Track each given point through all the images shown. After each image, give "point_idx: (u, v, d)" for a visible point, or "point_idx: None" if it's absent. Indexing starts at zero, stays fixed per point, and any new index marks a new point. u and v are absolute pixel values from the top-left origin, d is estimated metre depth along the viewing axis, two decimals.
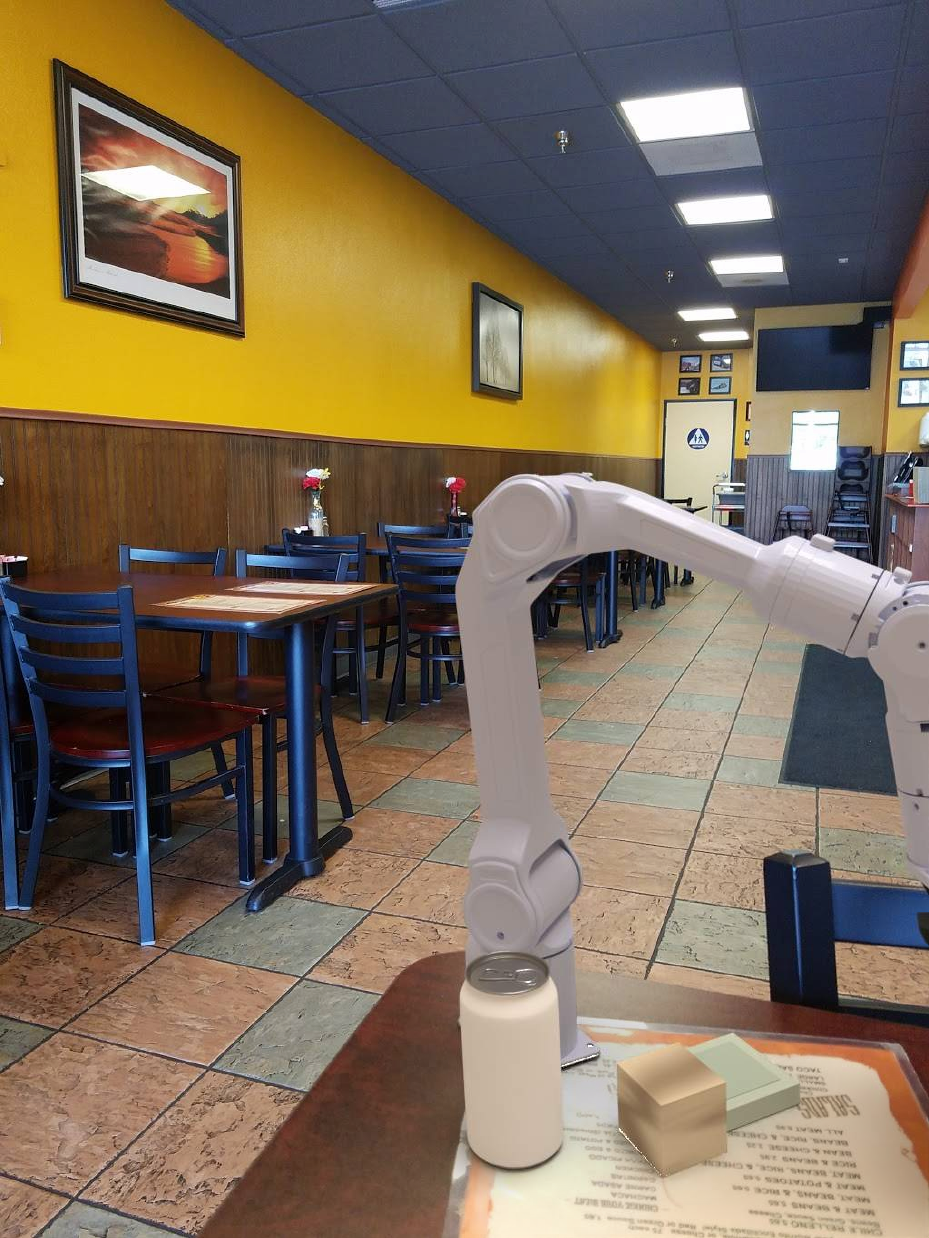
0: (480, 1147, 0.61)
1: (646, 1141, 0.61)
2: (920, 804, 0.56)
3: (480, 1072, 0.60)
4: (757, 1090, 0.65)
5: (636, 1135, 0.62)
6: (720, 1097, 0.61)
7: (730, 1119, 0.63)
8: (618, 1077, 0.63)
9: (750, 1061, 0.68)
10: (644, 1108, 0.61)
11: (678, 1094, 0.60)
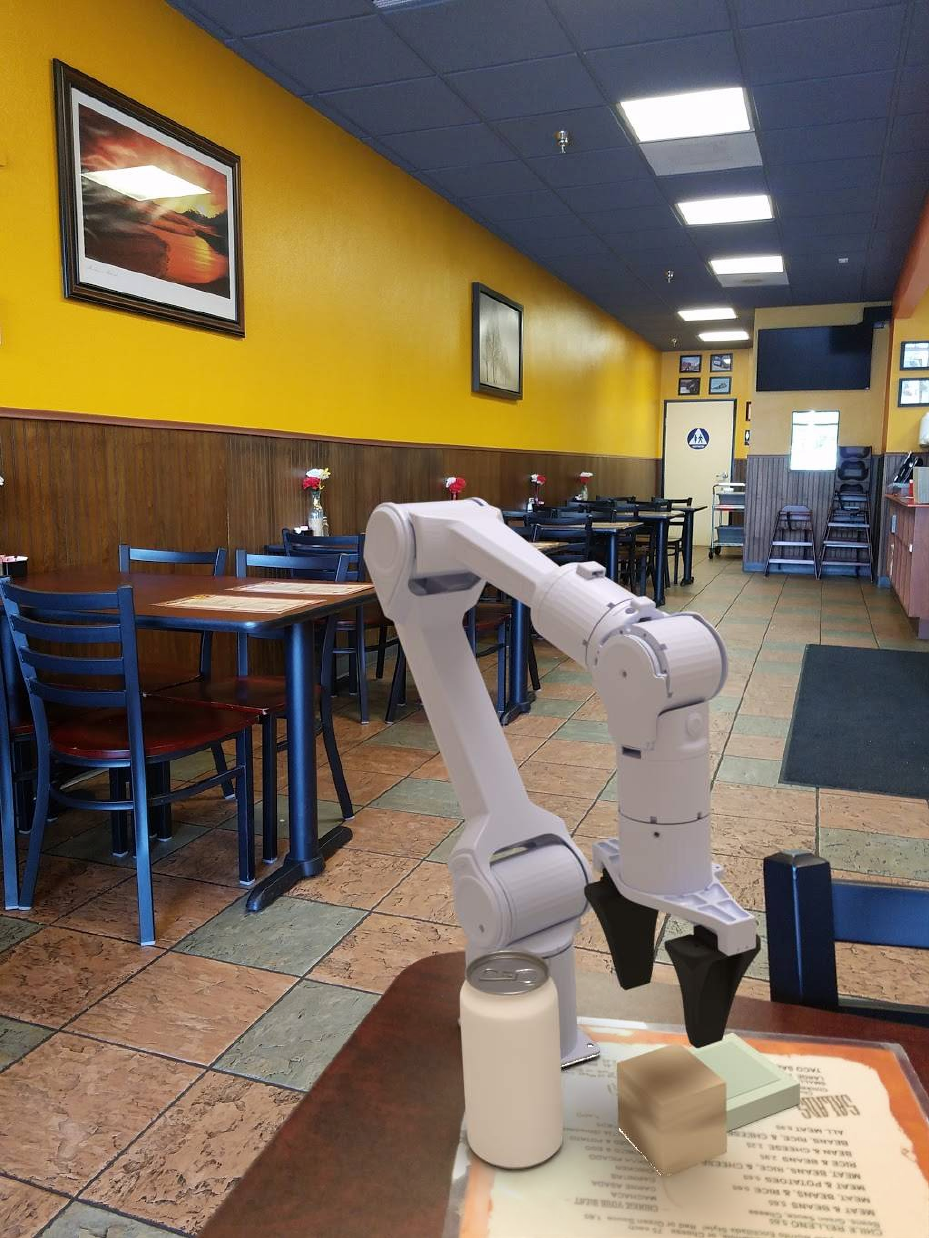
0: (480, 1147, 0.61)
1: (646, 1141, 0.61)
2: (663, 832, 0.57)
3: (480, 1072, 0.60)
4: (757, 1090, 0.65)
5: (636, 1135, 0.62)
6: (720, 1097, 0.61)
7: (730, 1119, 0.63)
8: (618, 1077, 0.63)
9: (750, 1061, 0.68)
10: (644, 1108, 0.61)
11: (678, 1094, 0.60)
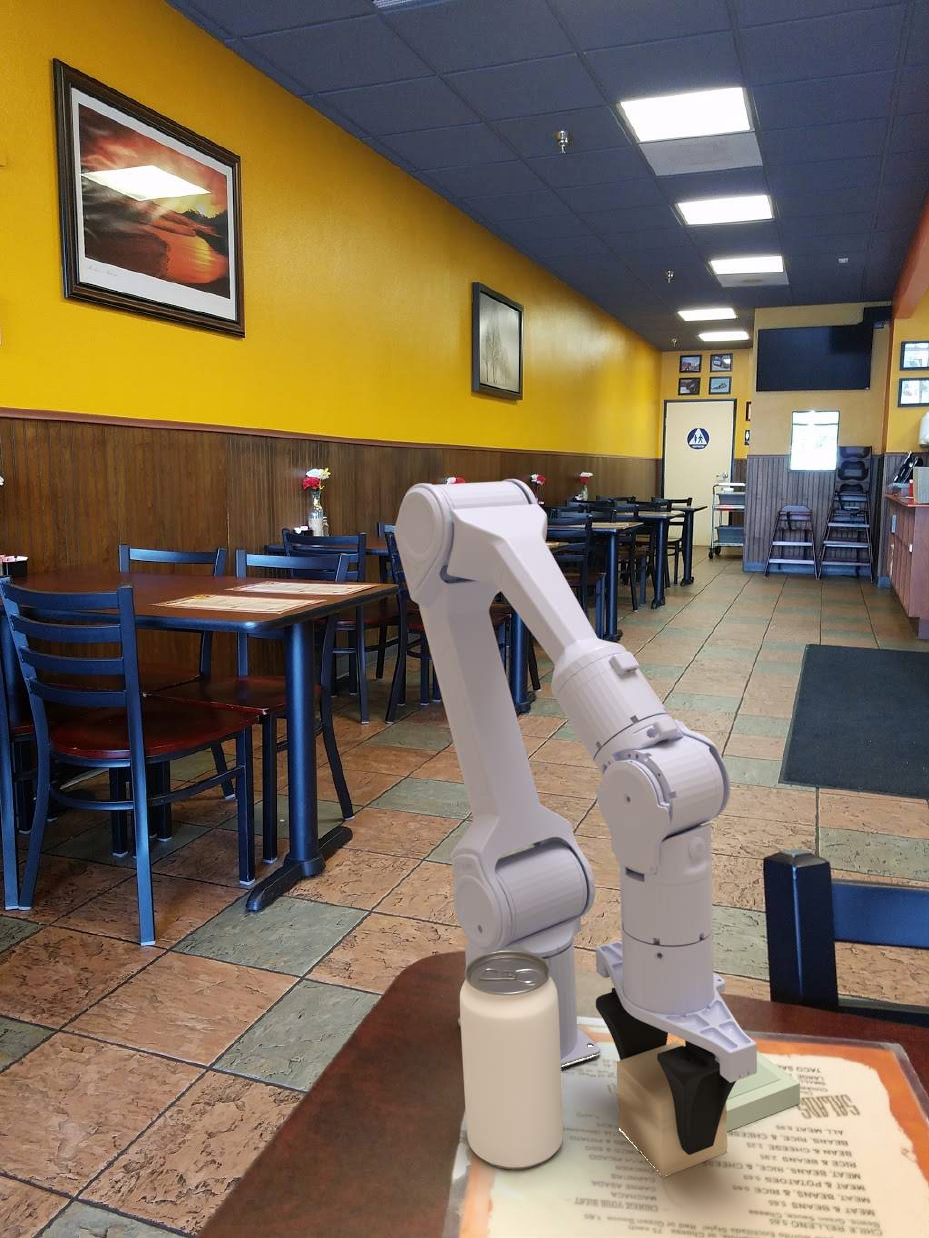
0: (480, 1147, 0.61)
1: (646, 1140, 0.61)
2: (666, 953, 0.58)
3: (480, 1072, 0.60)
4: (757, 1090, 0.65)
5: (636, 1134, 0.62)
6: None
7: (730, 1119, 0.63)
8: (618, 1076, 0.63)
9: None
10: (644, 1107, 0.61)
11: None
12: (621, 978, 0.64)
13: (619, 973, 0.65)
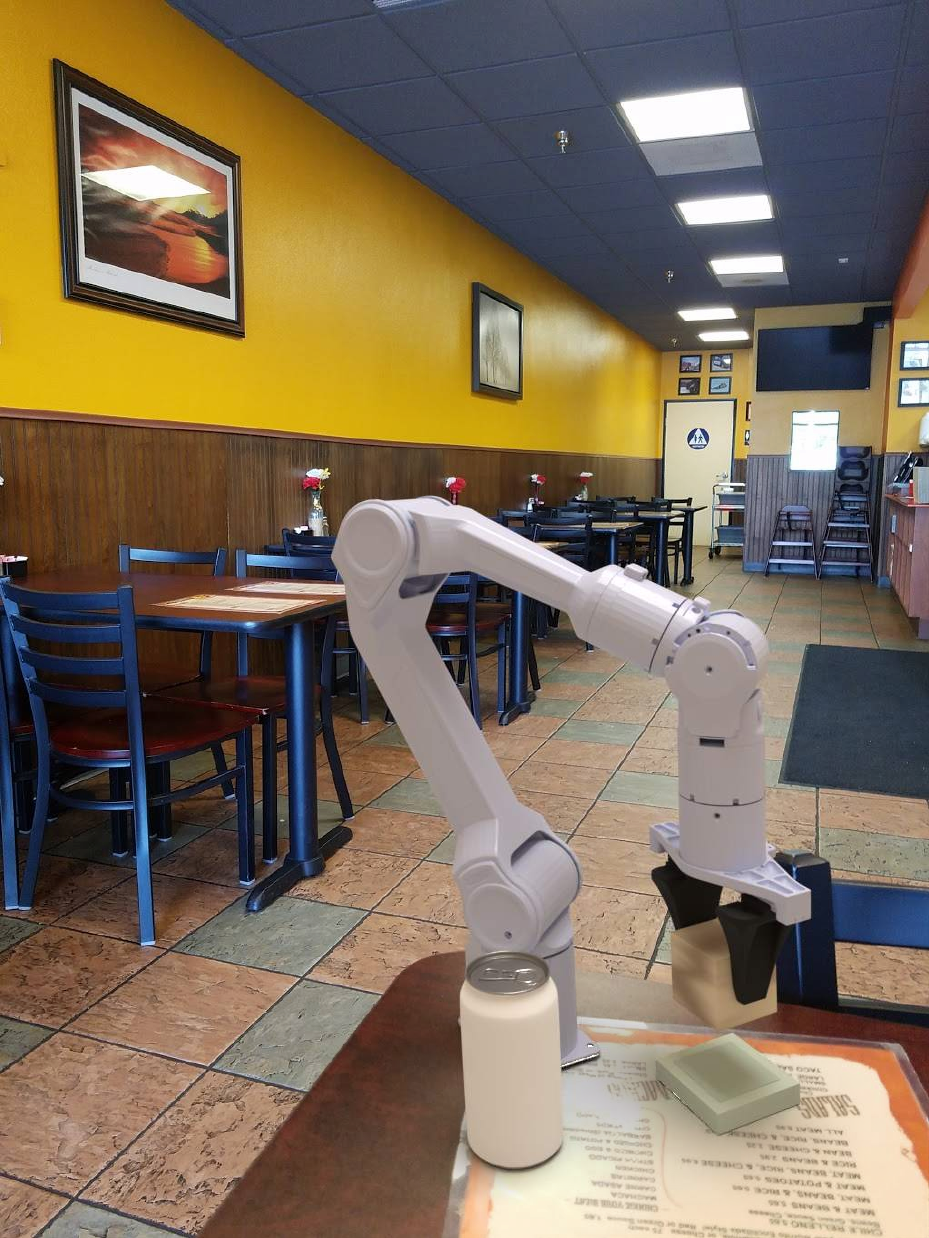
0: (480, 1147, 0.61)
1: (701, 999, 0.65)
2: (723, 813, 0.62)
3: (480, 1072, 0.60)
4: (757, 1090, 0.65)
5: (691, 997, 0.66)
6: None
7: (730, 1119, 0.63)
8: (672, 945, 0.67)
9: (750, 1061, 0.68)
10: (698, 968, 0.65)
11: None
12: None
13: (673, 845, 0.69)
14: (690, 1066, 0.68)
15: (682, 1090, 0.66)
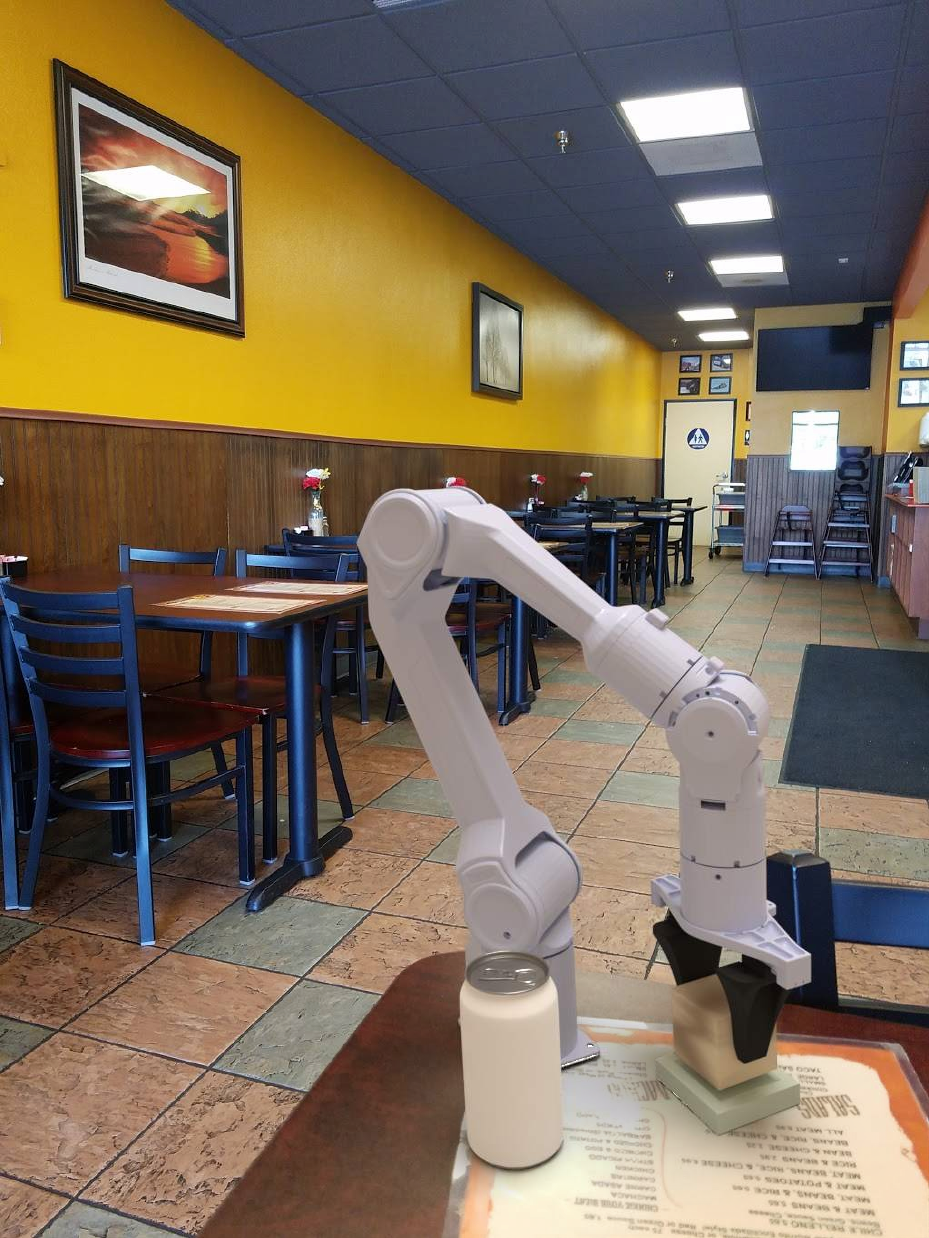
0: (480, 1147, 0.61)
1: (702, 1057, 0.65)
2: (724, 875, 0.63)
3: (480, 1072, 0.60)
4: (757, 1090, 0.65)
5: (692, 1053, 0.66)
6: None
7: (730, 1119, 0.63)
8: (673, 1001, 0.68)
9: None
10: (700, 1026, 0.65)
11: None
12: (677, 905, 0.68)
13: (675, 901, 0.69)
14: None
15: (682, 1090, 0.66)
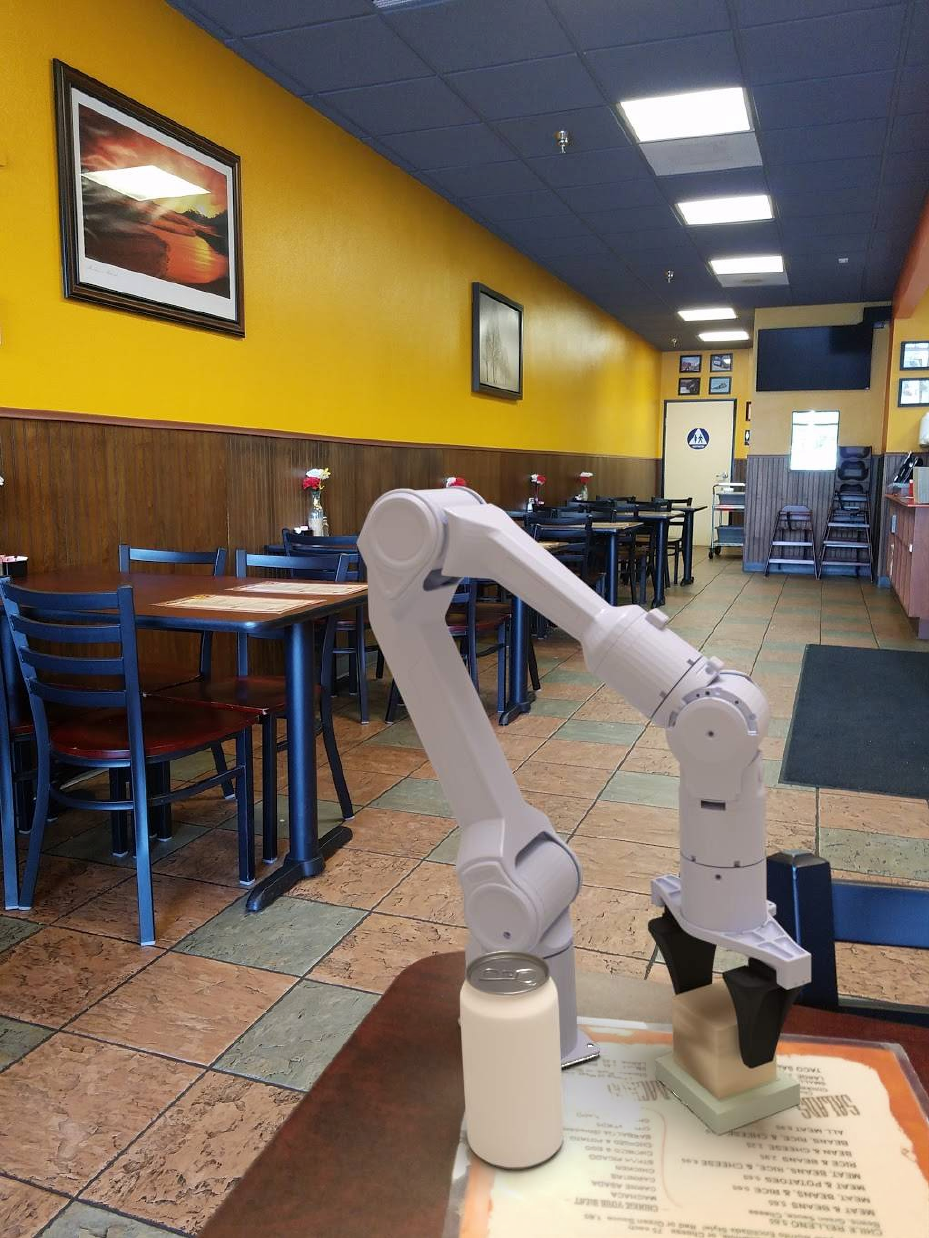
0: (480, 1147, 0.61)
1: (702, 1066, 0.66)
2: (724, 875, 0.63)
3: (480, 1072, 0.60)
4: (757, 1090, 0.65)
5: (691, 1062, 0.67)
6: None
7: (730, 1119, 0.63)
8: (673, 1009, 0.68)
9: None
10: (700, 1036, 0.65)
11: (733, 1022, 0.64)
12: (677, 905, 0.68)
13: (675, 901, 0.69)
14: None
15: (682, 1090, 0.66)
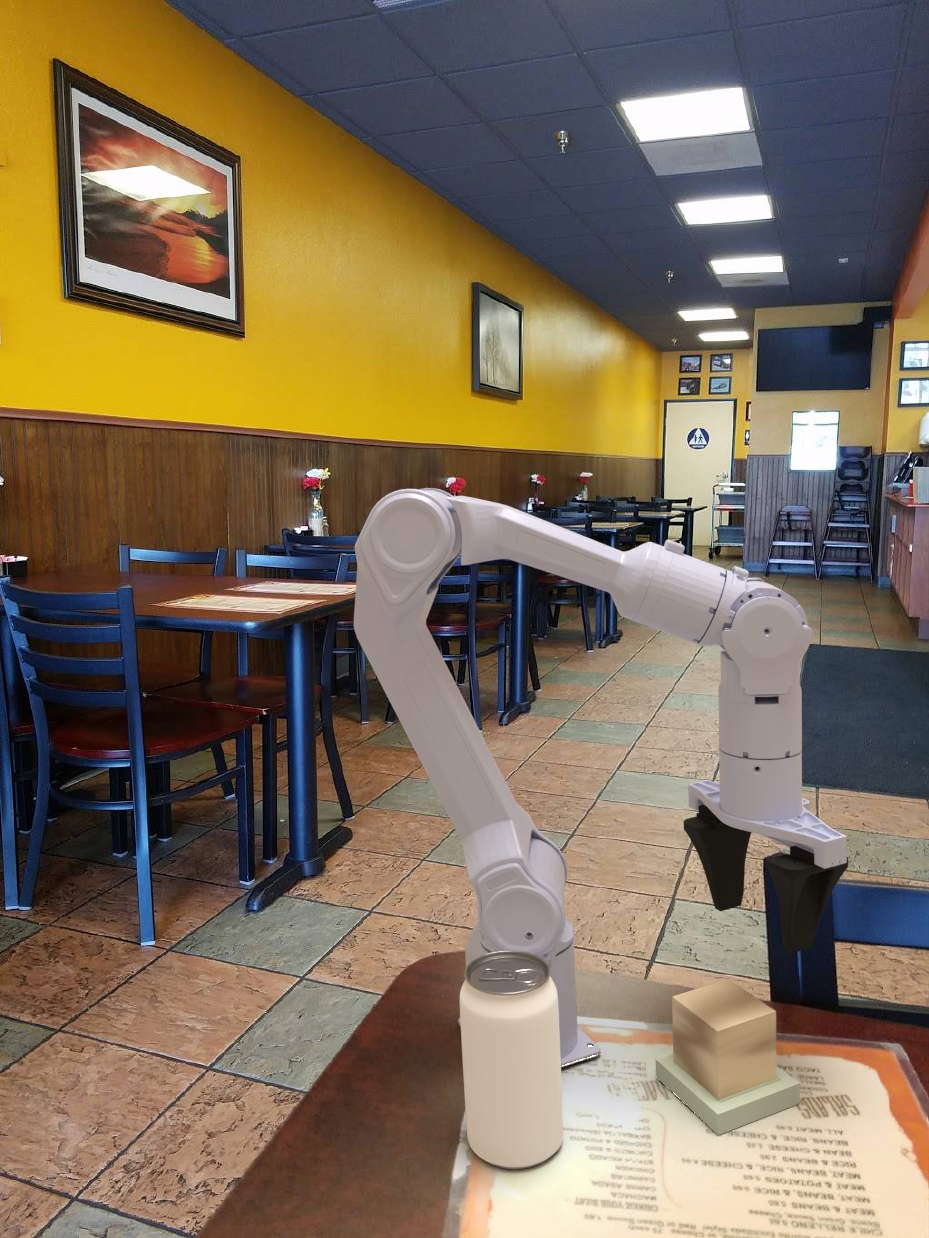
0: (480, 1147, 0.61)
1: (702, 1066, 0.66)
2: (763, 766, 0.66)
3: (480, 1072, 0.60)
4: (757, 1090, 0.65)
5: (691, 1062, 0.67)
6: (770, 1025, 0.65)
7: (730, 1119, 0.63)
8: (673, 1009, 0.68)
9: None
10: (700, 1036, 0.65)
11: (733, 1022, 0.64)
12: None
13: (713, 801, 0.73)
14: None
15: (682, 1090, 0.66)
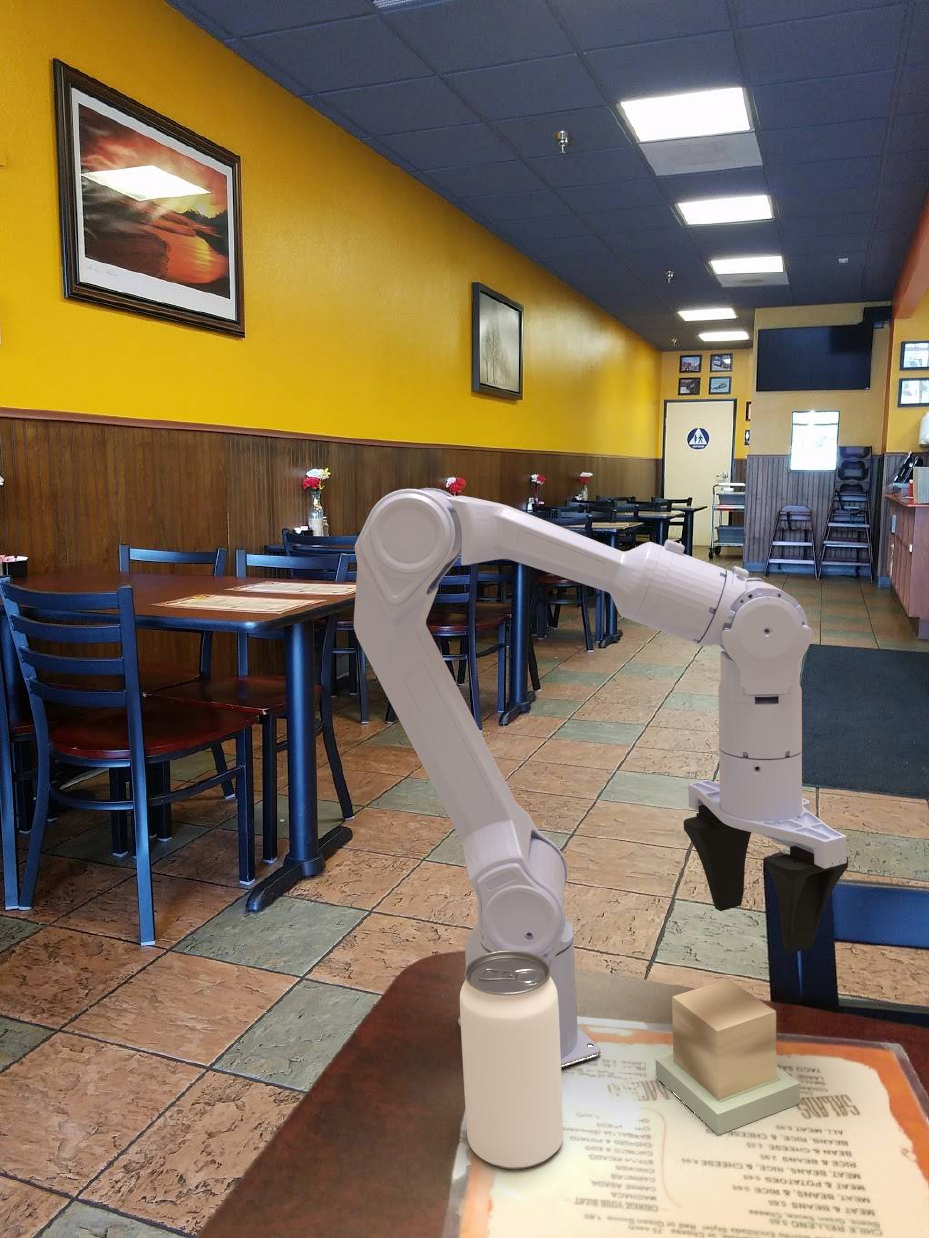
0: (480, 1147, 0.61)
1: (702, 1066, 0.66)
2: (763, 766, 0.66)
3: (480, 1072, 0.60)
4: (757, 1090, 0.65)
5: (691, 1062, 0.67)
6: (770, 1025, 0.65)
7: (730, 1119, 0.63)
8: (673, 1009, 0.68)
9: None
10: (700, 1036, 0.65)
11: (733, 1022, 0.64)
12: None
13: (713, 801, 0.73)
14: None
15: (682, 1090, 0.66)
